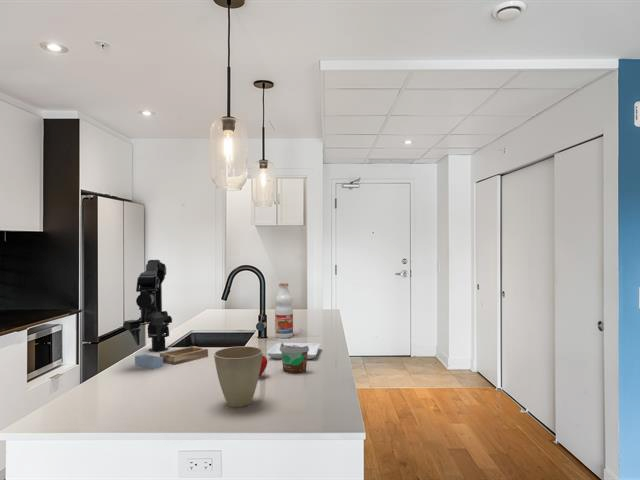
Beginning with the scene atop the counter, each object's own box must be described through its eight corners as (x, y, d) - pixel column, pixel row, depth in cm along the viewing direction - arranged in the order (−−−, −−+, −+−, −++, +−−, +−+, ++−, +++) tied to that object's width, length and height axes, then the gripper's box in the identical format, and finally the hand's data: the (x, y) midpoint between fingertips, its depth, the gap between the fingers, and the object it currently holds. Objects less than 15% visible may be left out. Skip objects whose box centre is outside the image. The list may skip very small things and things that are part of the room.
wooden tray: (159, 361, 194) (159, 353, 194) (193, 353, 208) (193, 346, 208) (174, 364, 188) (174, 357, 188) (208, 356, 201) (207, 349, 201)
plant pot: (211, 398, 146) (210, 348, 146) (257, 392, 152) (256, 344, 152) (218, 415, 132) (217, 360, 132) (268, 408, 138) (267, 354, 138)
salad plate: (321, 349, 212) (321, 342, 212) (316, 362, 191) (316, 353, 191) (276, 349, 214) (275, 342, 214) (266, 361, 193) (266, 353, 193)
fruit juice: (288, 334, 247) (288, 282, 247) (296, 337, 239) (295, 283, 239) (272, 336, 243) (271, 283, 243) (279, 339, 234) (278, 284, 234)
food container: (273, 372, 176) (273, 345, 176) (282, 368, 181) (281, 342, 181) (301, 376, 170) (301, 349, 170) (309, 371, 175) (309, 345, 175)
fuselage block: (134, 365, 188) (134, 356, 188) (144, 363, 192) (144, 353, 192) (153, 370, 182) (153, 359, 182) (162, 367, 185) (162, 357, 185)
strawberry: (269, 374, 173) (269, 347, 173) (264, 380, 165) (264, 352, 165) (254, 373, 173) (254, 347, 173) (248, 379, 166) (248, 352, 166)
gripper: (137, 309, 175) (137, 350, 175) (179, 303, 189) (180, 341, 189) (122, 306, 182) (122, 346, 182) (164, 301, 196) (164, 338, 196)
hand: (148, 343), depth 187 cm, fingers open, 9 cm apart
